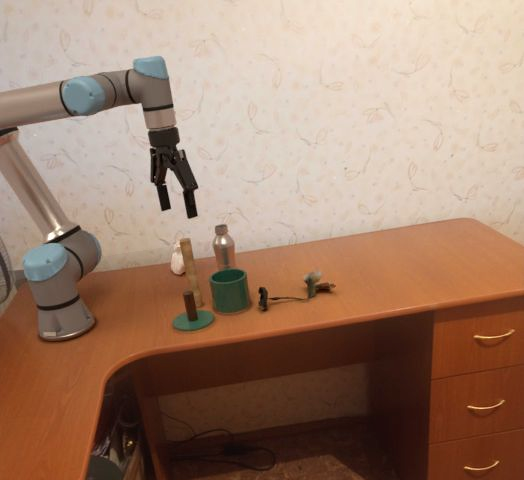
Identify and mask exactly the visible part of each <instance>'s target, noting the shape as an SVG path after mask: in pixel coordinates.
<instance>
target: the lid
mask: <svg viewBox="0 0 524 480" xmlns="http://www.w3.org/2000/svg"><path fill="white" fill-rule="evenodd" d="M182 298H183V302H184V307H185V312H182V313H180V314H178V315H177V316H176V317H174V318H173V320H172V327H173V328H174V329H175V330H177V331H180V332H193V331H198V330H203V329H205V328H206V327H209V326H210V325H212V324H213V322H214V321H215V314H214V313H213V312H211V311H209V310H205V309H197V306H196V304H195V299H194V294H193V291H189V290H185V291H183V292H182Z"/></svg>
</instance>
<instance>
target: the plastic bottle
mask: <svg viewBox="0 0 524 480" xmlns="http://www.w3.org/2000/svg"><path fill="white" fill-rule="evenodd" d="M214 234H215V237H214V238H213V240H212V250H213V252H214V256H215V259H216V262H217V267H218V268H217V269H218V270H217V271H221V270H224V269H238V267H237V263H236V247H235V246H236V245H235V240H234V239H233V237H232V236H231V235H230V234H229V229H228V224H225V223H222V224H217V225H215V226H214Z"/></svg>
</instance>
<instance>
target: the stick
mask: <svg viewBox="0 0 524 480" xmlns="http://www.w3.org/2000/svg"><path fill="white" fill-rule="evenodd" d="M179 241H180V247H181V252H182V257H183V262H184V267H185V272H184V273H185V277H186V282H187V286H188V291H193V294H194V299H195V304H196V307H199V306H201V305H202V304H203V301H202V295H201V289H200V285H199V280H198V279H199V278H198V273H197V267H196V263H195V259H194V258H195V257H194V252H193V247H192V241H191V238H190V237H184V238H183V237H182V238H181V239H179V240H178V242H179Z"/></svg>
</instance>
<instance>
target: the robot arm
mask: <svg viewBox="0 0 524 480" xmlns="http://www.w3.org/2000/svg"><path fill="white" fill-rule="evenodd" d="M139 104H141V108H142V114H143V117H144V123H145V127H146V129H147V130H148V131H147V137H148V142H149V146H150V148H149V155H150V169H149V170H150V172H149V173H150V175H149V178H150V179H149V180H150V183H151V184H154V186H155V188H156V191H157V197H158V200H159V207H160V210H161V212H165V211H169V210H172V205H171V200H170V196H169V190H168V185H167V181H166V177H167V173H168V169H169V170H170V171H171V172H173V174H174V176H175V177H176V180H177V182H178V183H179V185H180V186H181V188H182V197H183V202H184V208H185V213H186V217H187V219H188V220H191V219H194V218H197V217H199V214H198V208H197V203H196V196H195V191H196V190H199V185H198V183H197V179H196V177H195V175H194V172H193V170H192V167H191V165H190V163H189V160H188V158H187V153H186V150H185V149H183V148H182V149H178V147H177V145H178V144H179V143H180V142H181V137H180V132H179V128H178V127H177V126H176V125H177V124H178V122H177V117H176V114H177V112H176V110H175V104H174V101H173V95H172V89H171V82H170V75H169V72H168V68H167V64H166V60H165V59H164V57H163V56H162V55H153V56H147V57H140V58H134V59H133V60H132V68H129V69H122V70H113V71H102V72H97V73H94V74H89V75H80V76H75V77H73V78H68V79H65V80H57V81H53V82H47V83H41V84H36V85H32V86H27V87H20V88H16V89H11V90H5V91H0V173H1V175H2V176H3V178H4V179H5V181H6V182H7V183H8V185H9V186H10V188H11V189H12V191H13V193H14V194H15V196H16V197H17V199H18V200H19V202H20V203H21V205H22V206H23V208H24V209H25V210H26V212H27V213H28V215H29V216H30V217H31V219H32V221H33V223H34V224H35V225H36V227H37V229H38V230H39V232H40V233H41V235H42V242H41V245H39V246H38V247H37V246H36V247H34V248H32V249H30V250H29V251H27V252H26V253H25V254H24V256H22V259H21V265H22V268H23V274H24V277H25V278H26V280H27V284H28V286H29V289H30V292H31V294H32V297H33V299H34V303H35V305H36V308H37V330H38V334H39V337H40V339H41V340H43V341H46V342H52V343H53V342H64V341H69V340H72V339H75V338H78V337H81V336H83V335H85V334H86V333H88V332H89V331H90V330H91V329H92V328H93V327H94V326H95V323H96V321H95V317H94V316H93V313H92V311H90V309H89V308H88V306H87V305H86V304H85V303H84V301H83V300H82V298H81V294H80V292H79V291H80V290H79V288H78V285H77V283H79V282H80V281H81V280H82V279H83V278H85V277H86V276H87V275H89V274H90V273H92V272H93V271H94V270H95V269H96V268H97V267H98V265H99V264H100V262H101V259H102V255H103V253H102V252H103V251H102V246H101V244H100V242H99V240H98V238H97V237H96V236H95V235H94V234H93V233H92V232H88V230H84V229H82V227H81V225H80V224H79V222H74V221H72V220H70V218H69V216H68V215H67V213H66V212H65V210H64V209H63V208H62V206H61V204H60V202H59V201H58V199H57V198H56V196H55V194H54V193H53V192H52V190H51V188H50V187H49V186H48V184H47V182H46V181H45V179H44V178H43V176H42V174H41V173H40V171H39V170H38V168H37V166H36V165H35V163H34V162H33V160H32V159H31V157H30V156H29V154H28V152H27V151H26V149H25V148H24V146H23V144H22V143H21V141H20V135H21V131H20V130H19V127H23V126H30V125H34V124H40V123H45V122H46V123H47V122H51V121H58V120H64V119H69V118H76V117H89V116H94V115H96V114H98V113H101V112H105V111H107V110H111V109H114V108H118V107H122V106H123V107H124V106H130V105H139Z"/></svg>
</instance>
